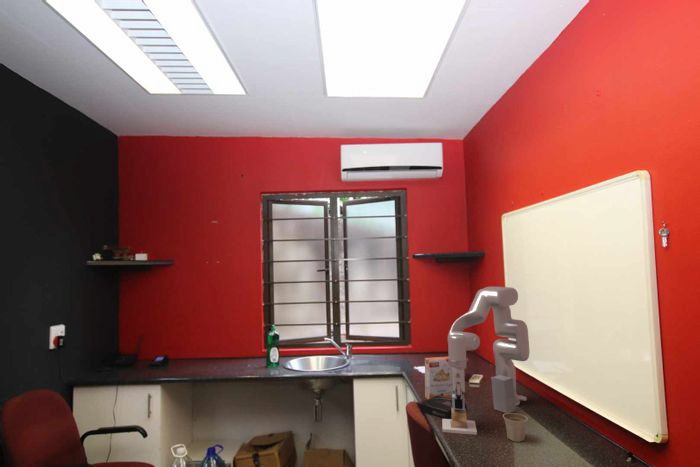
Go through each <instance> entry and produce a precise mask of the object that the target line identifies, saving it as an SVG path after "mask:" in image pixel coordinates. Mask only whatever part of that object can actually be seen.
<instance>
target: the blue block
mask: <svg viewBox="0 0 700 467" xmlns="http://www.w3.org/2000/svg"><path fill="white" fill-rule="evenodd" d="M456 395H457V394H456ZM465 400H466V399H465V394H464V393H463V394H462V401H463V409H458V410H465V403H466V402H465ZM452 407H453V409H456V408H455V393H453V394H452Z"/></svg>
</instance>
